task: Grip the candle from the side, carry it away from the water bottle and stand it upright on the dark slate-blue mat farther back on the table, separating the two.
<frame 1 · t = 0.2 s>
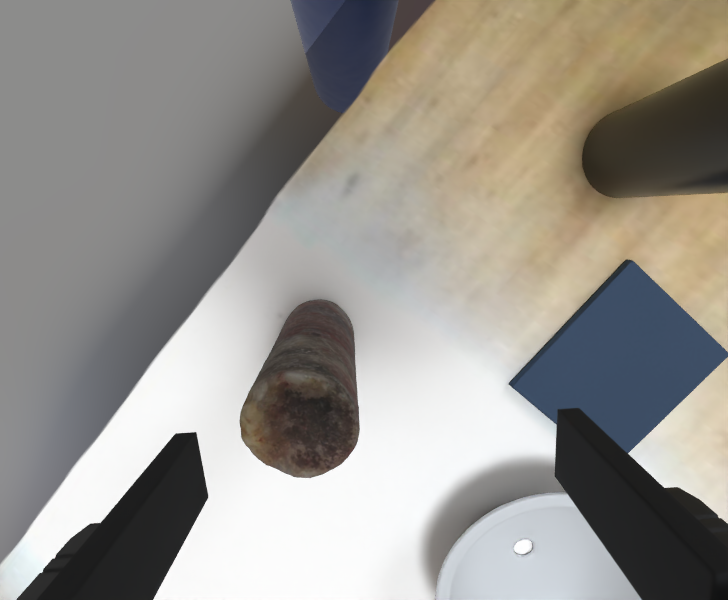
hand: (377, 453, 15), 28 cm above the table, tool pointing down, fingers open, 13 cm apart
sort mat: (615, 367, 44), on the table
candle: (320, 333, 43), on the table
soup bowl: (522, 544, 49), on the table
water bottle: (622, 154, 40), on the table
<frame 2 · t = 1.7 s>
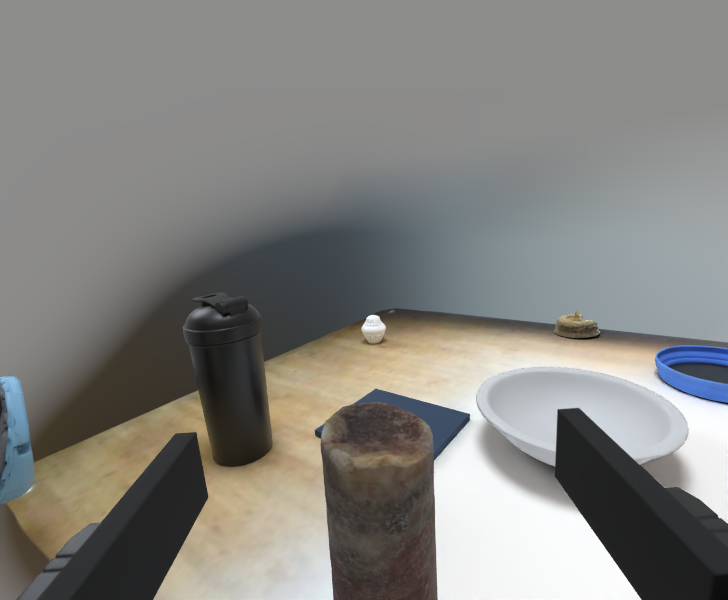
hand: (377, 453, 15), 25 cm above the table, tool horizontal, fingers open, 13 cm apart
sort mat: (393, 427, 62), on the table
soup bowl: (568, 448, 54), on the table
bowl: (718, 383, 68), on the table
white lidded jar: (374, 342, 101), on the table
cake: (576, 333, 97), on the table
water bottle: (243, 449, 59), on the table
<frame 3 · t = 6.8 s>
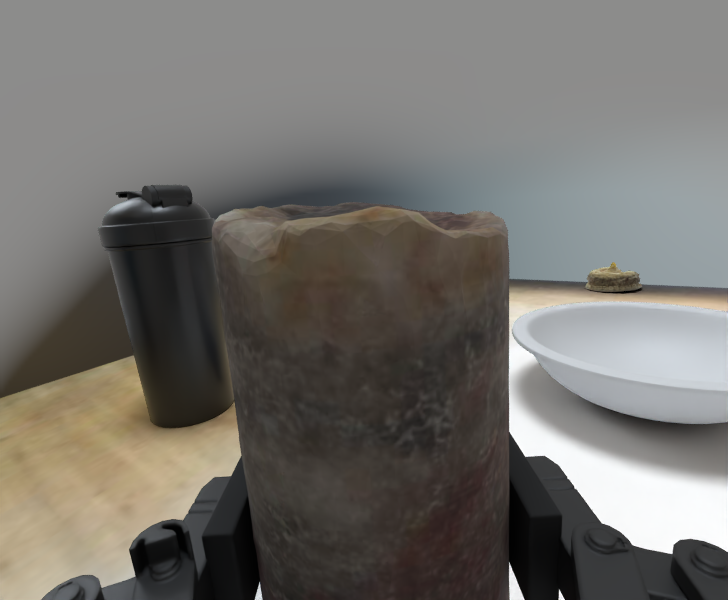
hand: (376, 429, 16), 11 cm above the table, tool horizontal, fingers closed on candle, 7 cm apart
soup bowl: (644, 399, 38), on the table
cake: (612, 288, 82), on the table
water bottle: (193, 408, 44), on the table
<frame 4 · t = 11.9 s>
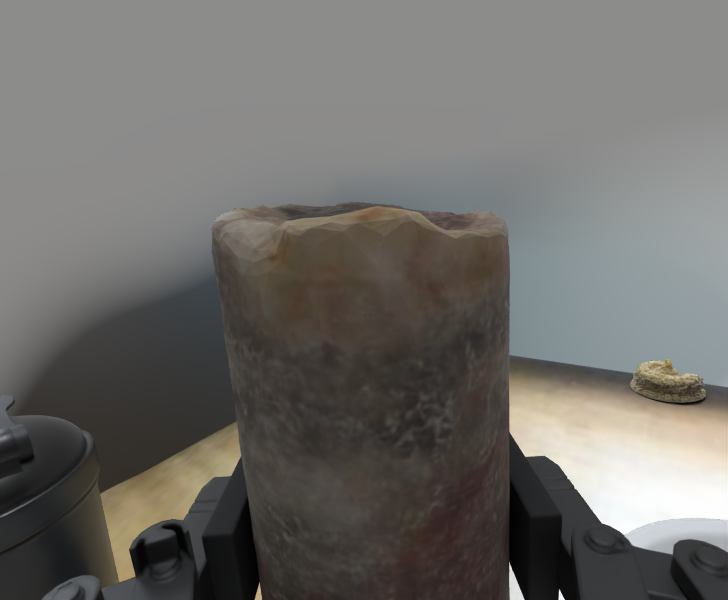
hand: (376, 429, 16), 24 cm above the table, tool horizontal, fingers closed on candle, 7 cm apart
cake: (666, 391, 65), on the table
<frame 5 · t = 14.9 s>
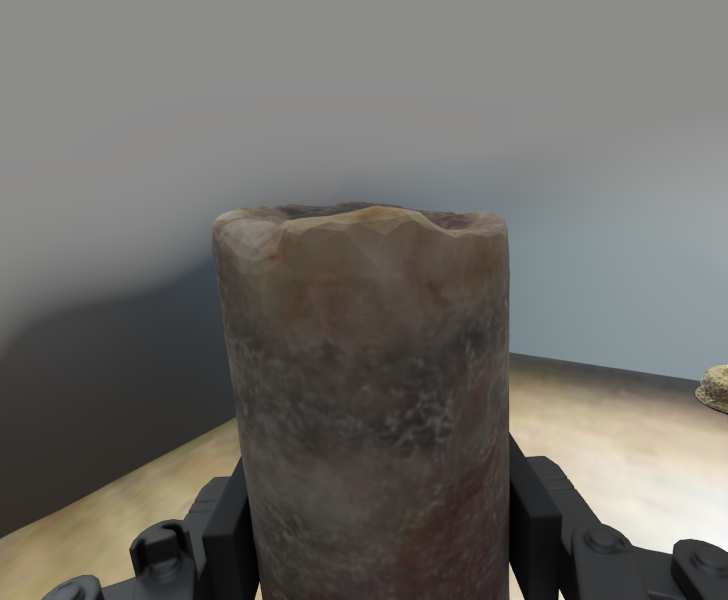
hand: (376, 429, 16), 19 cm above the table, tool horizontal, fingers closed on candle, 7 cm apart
when the fingers open (12 cm above the table, at t = 17.2 s): candle stays where it is, resting on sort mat.
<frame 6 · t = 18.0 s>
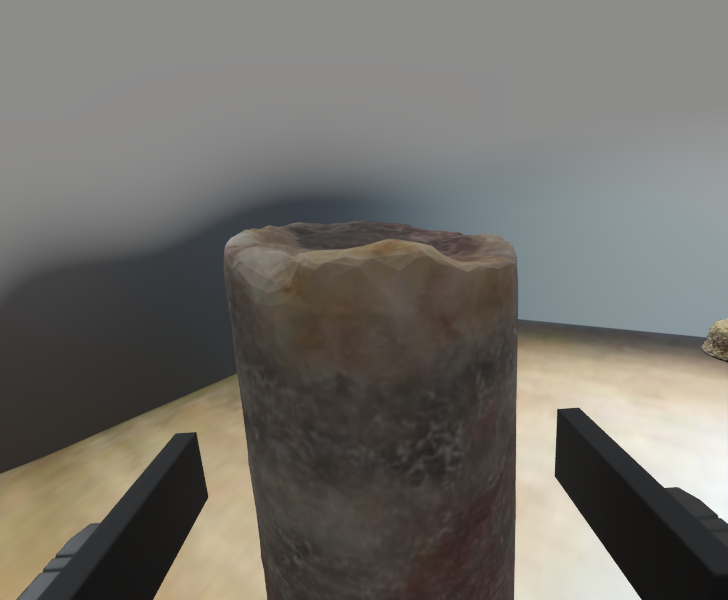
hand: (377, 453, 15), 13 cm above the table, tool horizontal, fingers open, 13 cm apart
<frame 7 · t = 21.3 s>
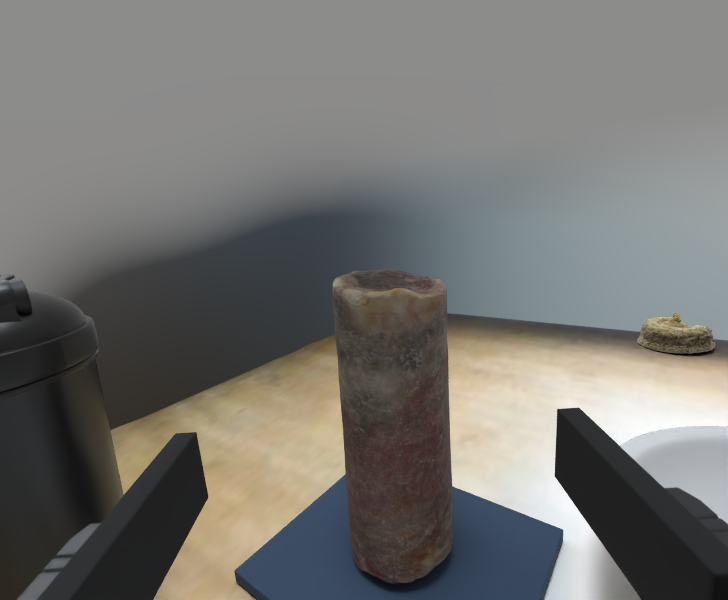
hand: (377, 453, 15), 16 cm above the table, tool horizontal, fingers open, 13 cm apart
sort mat: (403, 560, 29), on the table
candle: (403, 547, 29), point 1 cm above the table, touching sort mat
cake: (674, 345, 64), on the table
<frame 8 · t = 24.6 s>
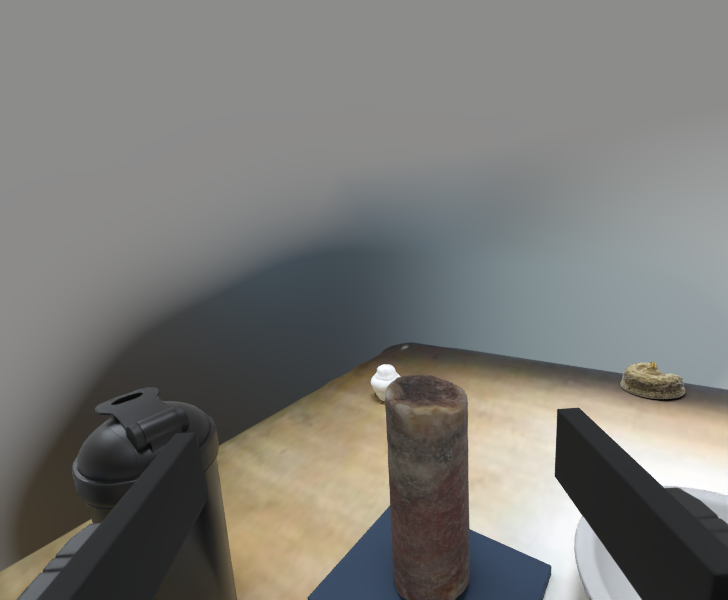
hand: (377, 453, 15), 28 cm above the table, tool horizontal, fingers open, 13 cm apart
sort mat: (431, 589, 39), on the table
candle: (432, 579, 39), point 1 cm above the table, touching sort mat
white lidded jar: (387, 398, 78), on the table
cake: (651, 389, 74), on the table
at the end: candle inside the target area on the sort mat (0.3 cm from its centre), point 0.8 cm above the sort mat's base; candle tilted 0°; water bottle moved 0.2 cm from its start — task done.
